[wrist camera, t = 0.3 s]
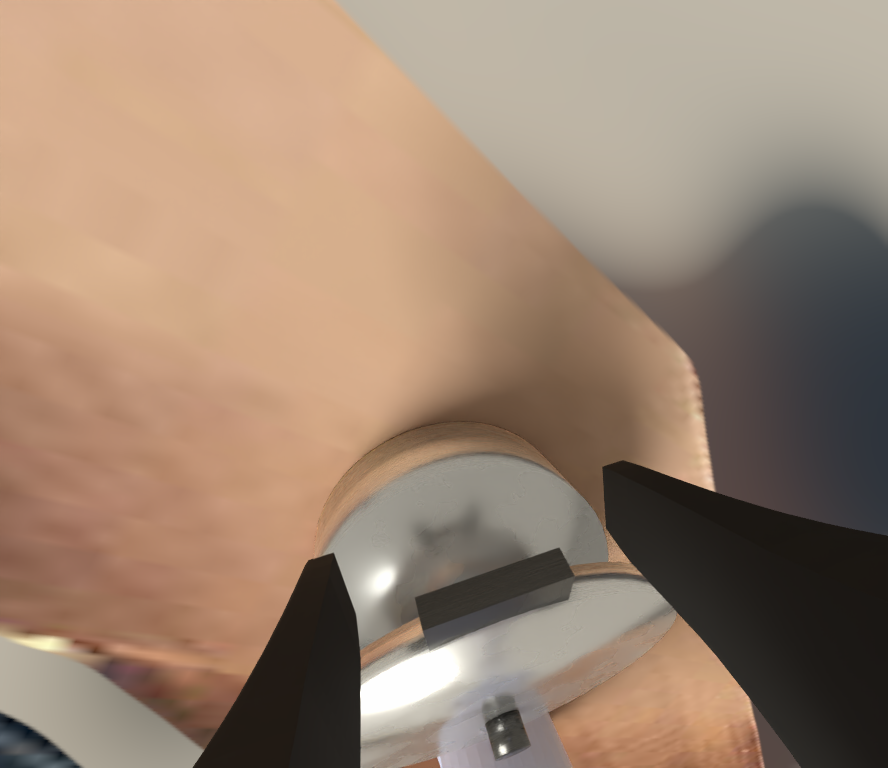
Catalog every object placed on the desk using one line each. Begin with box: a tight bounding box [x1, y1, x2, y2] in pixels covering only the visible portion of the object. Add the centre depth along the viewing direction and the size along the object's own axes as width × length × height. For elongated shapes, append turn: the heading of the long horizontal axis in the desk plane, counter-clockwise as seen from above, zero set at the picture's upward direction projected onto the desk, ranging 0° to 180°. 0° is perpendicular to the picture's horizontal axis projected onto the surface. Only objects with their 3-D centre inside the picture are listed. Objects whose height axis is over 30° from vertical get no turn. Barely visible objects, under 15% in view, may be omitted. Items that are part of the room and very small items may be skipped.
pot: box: [313, 422, 608, 650], centre depth 21 cm, size 15×14×4 cm
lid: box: [360, 548, 677, 768], centre depth 15 cm, size 16×15×2 cm
